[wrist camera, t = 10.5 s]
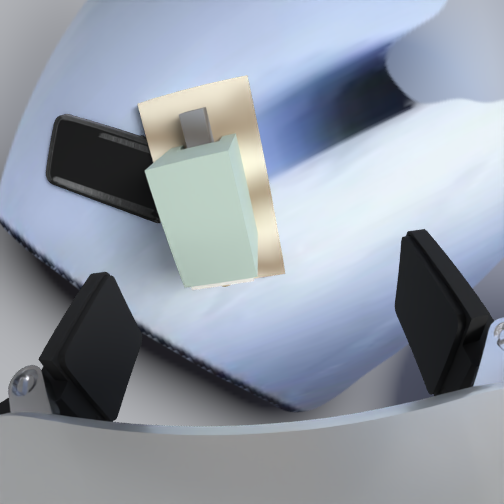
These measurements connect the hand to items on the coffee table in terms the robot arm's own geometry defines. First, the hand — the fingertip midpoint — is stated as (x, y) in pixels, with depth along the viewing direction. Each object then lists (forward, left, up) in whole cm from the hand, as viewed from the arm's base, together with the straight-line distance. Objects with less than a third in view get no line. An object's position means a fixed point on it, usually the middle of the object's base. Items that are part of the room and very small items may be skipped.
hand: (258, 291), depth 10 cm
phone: (-2, -15, -22) cm, 27 cm away
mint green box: (+3, -5, -21) cm, 21 cm away
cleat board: (+3, -5, -22) cm, 22 cm away
